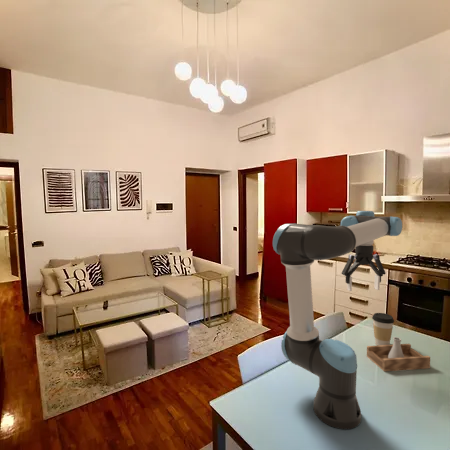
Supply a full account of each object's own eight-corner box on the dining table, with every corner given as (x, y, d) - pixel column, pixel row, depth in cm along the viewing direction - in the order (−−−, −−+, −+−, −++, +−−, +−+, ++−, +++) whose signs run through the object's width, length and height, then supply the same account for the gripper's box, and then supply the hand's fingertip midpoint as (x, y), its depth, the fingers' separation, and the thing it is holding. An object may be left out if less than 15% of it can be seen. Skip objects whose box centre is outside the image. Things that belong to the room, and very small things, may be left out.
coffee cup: (393, 343, 147) (394, 314, 146) (392, 351, 139) (394, 321, 138) (372, 338, 152) (373, 311, 152) (370, 346, 144) (371, 317, 143)
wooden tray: (384, 371, 122) (384, 360, 122) (366, 356, 134) (367, 346, 134) (429, 368, 124) (430, 357, 124) (408, 353, 137) (409, 343, 136)
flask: (408, 365, 125) (409, 343, 125) (390, 363, 127) (391, 341, 126) (402, 356, 132) (402, 335, 132) (385, 355, 134) (385, 334, 133)
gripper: (342, 246, 126) (341, 293, 128) (395, 245, 129) (393, 291, 130) (334, 243, 134) (333, 288, 135) (384, 242, 137) (382, 286, 138)
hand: (363, 289), depth 133 cm, fingers open, 13 cm apart
